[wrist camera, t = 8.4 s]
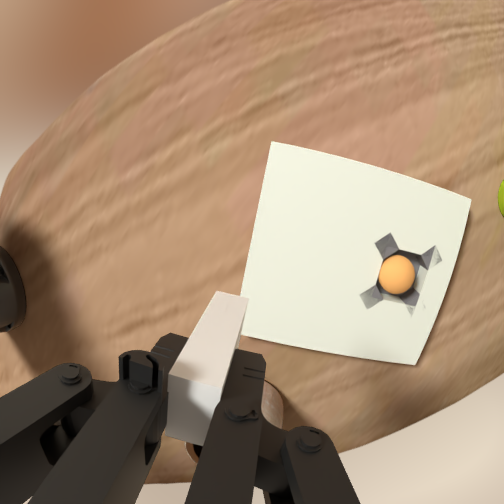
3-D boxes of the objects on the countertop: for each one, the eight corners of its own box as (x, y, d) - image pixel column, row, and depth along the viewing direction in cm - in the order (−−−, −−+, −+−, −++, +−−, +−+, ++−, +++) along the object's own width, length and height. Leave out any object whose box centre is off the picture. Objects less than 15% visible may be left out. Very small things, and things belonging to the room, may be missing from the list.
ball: (384, 284, 33) (366, 286, 30) (395, 250, 32) (377, 249, 29) (413, 297, 30) (397, 302, 27) (425, 262, 29) (410, 262, 26)
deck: (236, 322, 35) (232, 332, 33) (272, 144, 30) (271, 141, 28) (409, 354, 34) (415, 365, 31) (460, 197, 29) (471, 199, 26)
